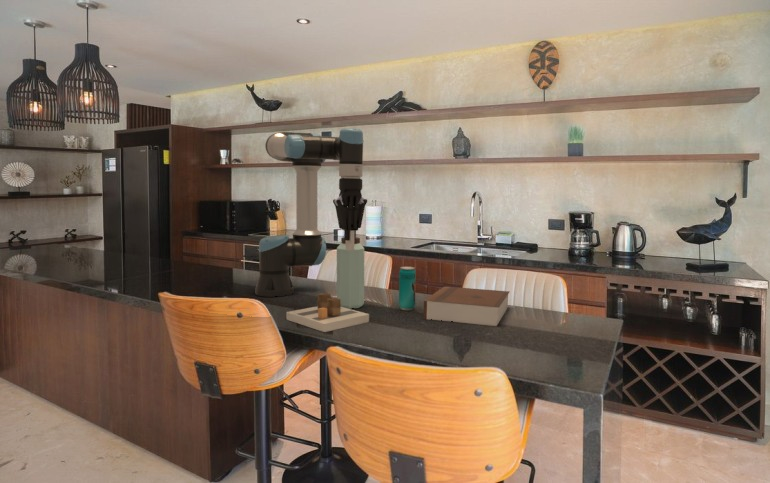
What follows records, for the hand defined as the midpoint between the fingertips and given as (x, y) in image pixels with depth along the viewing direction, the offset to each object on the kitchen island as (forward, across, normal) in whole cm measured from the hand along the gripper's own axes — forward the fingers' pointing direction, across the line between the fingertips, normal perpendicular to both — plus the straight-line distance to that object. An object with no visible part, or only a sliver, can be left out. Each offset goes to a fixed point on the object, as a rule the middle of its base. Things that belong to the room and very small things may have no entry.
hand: (349, 250), depth 168 cm
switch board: (+22, -8, +1) cm, 24 cm away
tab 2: (+20, -9, -3) cm, 22 cm away
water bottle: (+23, +11, +12) cm, 28 cm away
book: (+23, +34, -24) cm, 48 cm away
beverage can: (+23, +23, -5) cm, 33 cm away
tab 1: (+20, -7, +5) cm, 21 cm away
